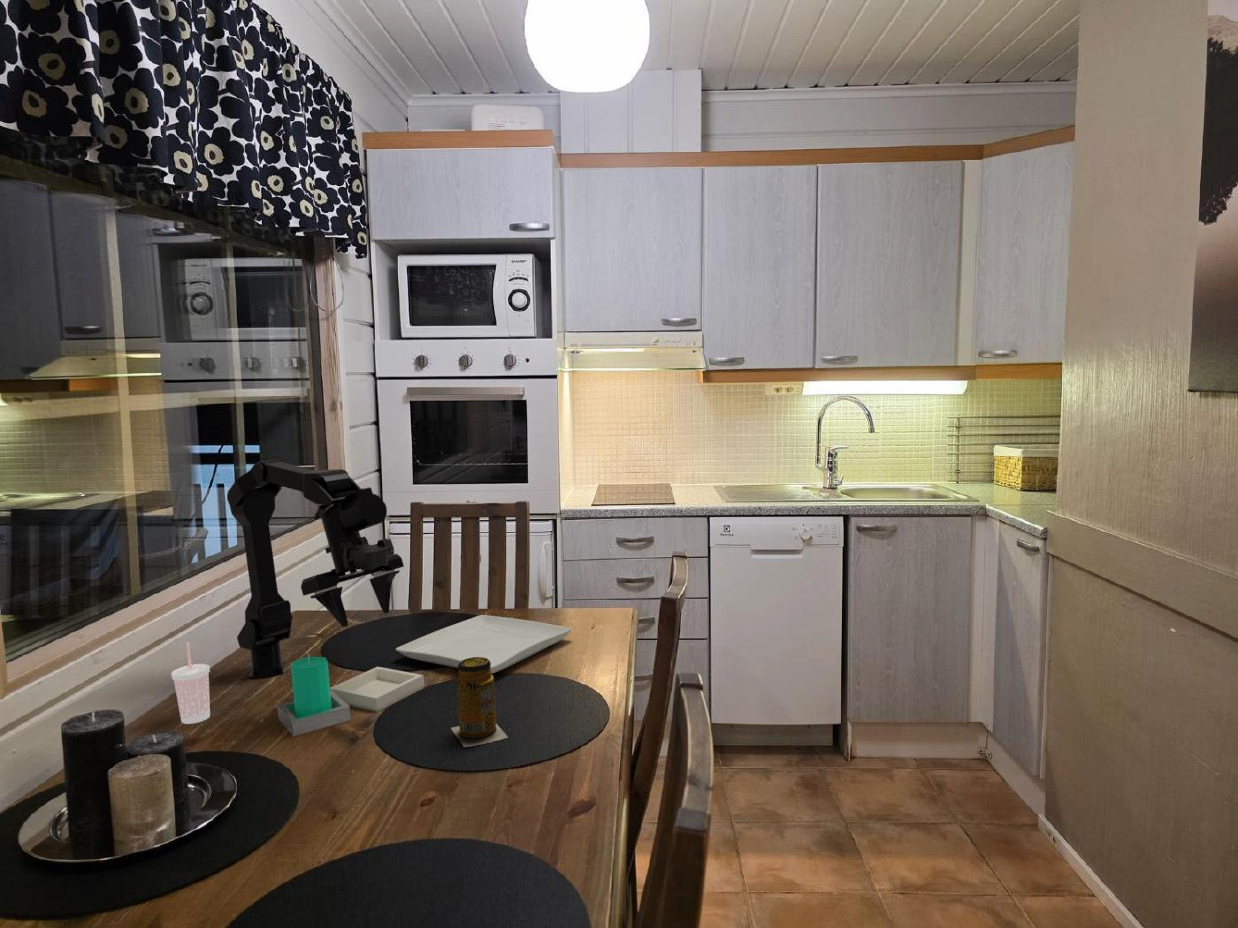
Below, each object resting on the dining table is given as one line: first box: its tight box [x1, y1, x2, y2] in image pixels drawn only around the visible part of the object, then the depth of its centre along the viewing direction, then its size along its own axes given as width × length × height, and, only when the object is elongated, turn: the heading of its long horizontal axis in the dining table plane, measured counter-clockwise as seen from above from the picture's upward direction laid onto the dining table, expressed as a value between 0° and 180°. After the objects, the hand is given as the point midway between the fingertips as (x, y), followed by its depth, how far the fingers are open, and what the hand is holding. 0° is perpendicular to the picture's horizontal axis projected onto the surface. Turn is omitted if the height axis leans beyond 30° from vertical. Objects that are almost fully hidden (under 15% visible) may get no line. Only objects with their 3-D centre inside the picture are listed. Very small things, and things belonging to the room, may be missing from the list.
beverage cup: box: [170, 641, 211, 725], centre depth 143 cm, size 6×6×14 cm
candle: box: [290, 652, 332, 718], centre depth 141 cm, size 6×6×12 cm
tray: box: [330, 666, 425, 713], centre depth 151 cm, size 12×12×2 cm
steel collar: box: [276, 691, 352, 737], centre depth 141 cm, size 10×10×2 cm
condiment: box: [450, 657, 509, 748], centre depth 132 cm, size 7×8×12 cm
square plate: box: [395, 614, 573, 674], centre depth 173 cm, size 27×27×4 cm
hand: (366, 619), depth 147 cm, fingers open, 9 cm apart
